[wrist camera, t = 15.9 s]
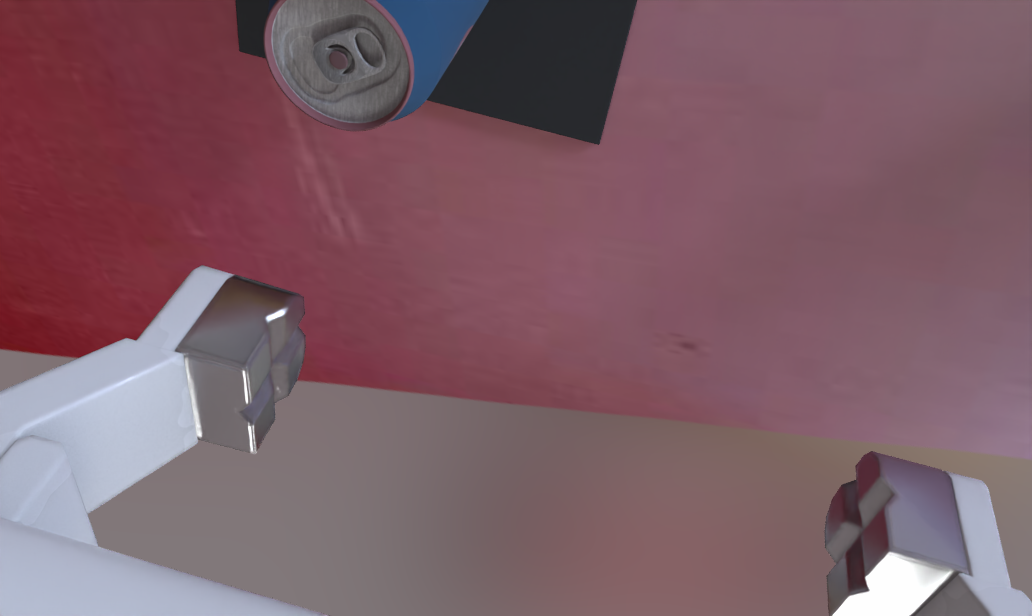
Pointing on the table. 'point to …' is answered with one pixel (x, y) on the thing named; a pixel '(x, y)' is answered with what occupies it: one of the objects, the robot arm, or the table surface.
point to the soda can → (363, 55)
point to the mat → (521, 61)
